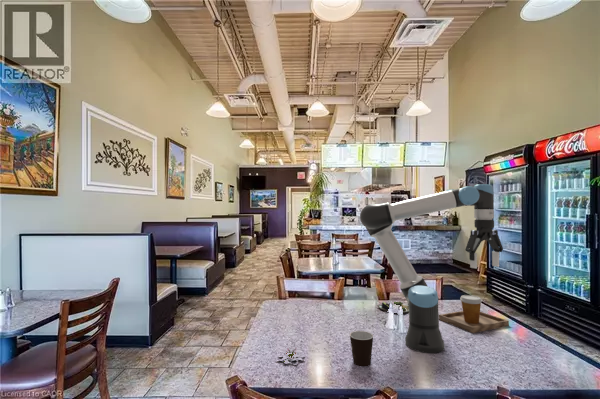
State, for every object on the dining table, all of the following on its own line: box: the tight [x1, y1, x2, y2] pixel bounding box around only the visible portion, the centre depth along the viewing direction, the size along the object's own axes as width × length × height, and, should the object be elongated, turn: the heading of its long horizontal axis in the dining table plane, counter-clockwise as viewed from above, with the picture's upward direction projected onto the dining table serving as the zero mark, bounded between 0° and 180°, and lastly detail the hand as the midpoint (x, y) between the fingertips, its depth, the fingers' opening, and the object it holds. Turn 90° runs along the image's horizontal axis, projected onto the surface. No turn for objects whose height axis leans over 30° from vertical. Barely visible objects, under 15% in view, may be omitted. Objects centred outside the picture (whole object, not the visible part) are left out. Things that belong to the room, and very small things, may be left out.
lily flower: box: [283, 347, 297, 363], centre depth 118 cm, size 12×12×5 cm
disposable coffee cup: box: [459, 294, 483, 324], centre depth 154 cm, size 10×10×12 cm
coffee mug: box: [349, 330, 374, 368], centre depth 116 cm, size 12×9×10 cm
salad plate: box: [376, 300, 409, 315], centre depth 180 cm, size 19×18×5 cm
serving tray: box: [439, 310, 510, 334], centre depth 155 cm, size 24×20×2 cm
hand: (484, 267), depth 136 cm, fingers open, 13 cm apart
